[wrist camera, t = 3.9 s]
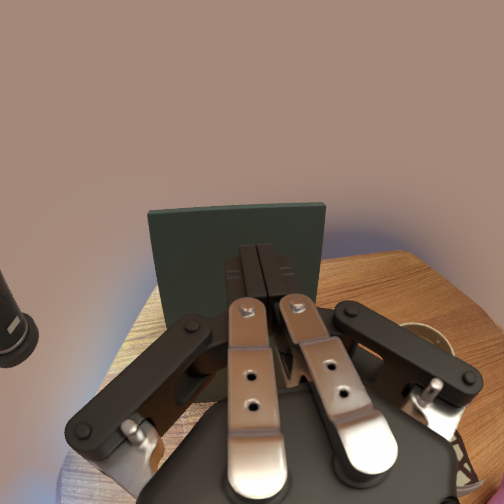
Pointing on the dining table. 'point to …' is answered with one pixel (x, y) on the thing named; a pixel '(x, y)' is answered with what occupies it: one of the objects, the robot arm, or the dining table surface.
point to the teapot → (498, 495)
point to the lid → (228, 250)
